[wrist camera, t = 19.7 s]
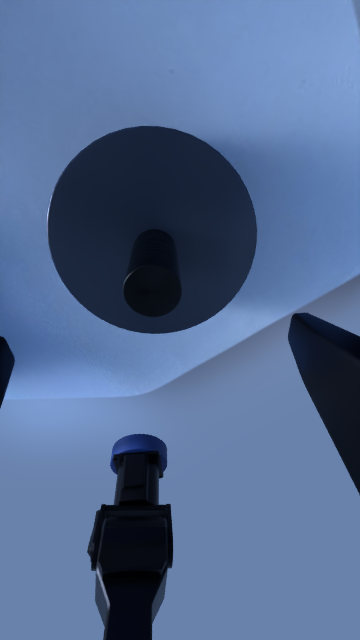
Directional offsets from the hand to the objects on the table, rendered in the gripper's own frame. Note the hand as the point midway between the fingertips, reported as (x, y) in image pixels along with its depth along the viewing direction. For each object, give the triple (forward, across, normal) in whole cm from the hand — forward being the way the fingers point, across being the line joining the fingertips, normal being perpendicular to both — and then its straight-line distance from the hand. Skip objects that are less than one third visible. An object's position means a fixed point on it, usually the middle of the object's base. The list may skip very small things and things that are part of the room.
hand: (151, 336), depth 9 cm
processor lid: (+8, 0, 0) cm, 8 cm away
